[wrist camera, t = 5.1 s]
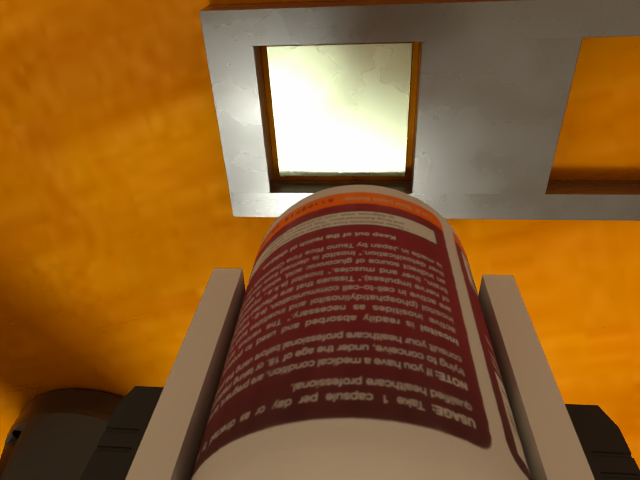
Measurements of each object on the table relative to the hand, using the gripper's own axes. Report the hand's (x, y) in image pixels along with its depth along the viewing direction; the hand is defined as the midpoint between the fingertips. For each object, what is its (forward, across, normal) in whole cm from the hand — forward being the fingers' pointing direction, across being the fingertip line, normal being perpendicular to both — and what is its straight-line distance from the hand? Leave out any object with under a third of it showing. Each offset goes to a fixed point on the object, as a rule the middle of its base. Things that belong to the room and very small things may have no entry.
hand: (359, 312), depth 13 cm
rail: (+14, +6, +1) cm, 15 cm away
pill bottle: (+2, 0, 0) cm, 2 cm away
